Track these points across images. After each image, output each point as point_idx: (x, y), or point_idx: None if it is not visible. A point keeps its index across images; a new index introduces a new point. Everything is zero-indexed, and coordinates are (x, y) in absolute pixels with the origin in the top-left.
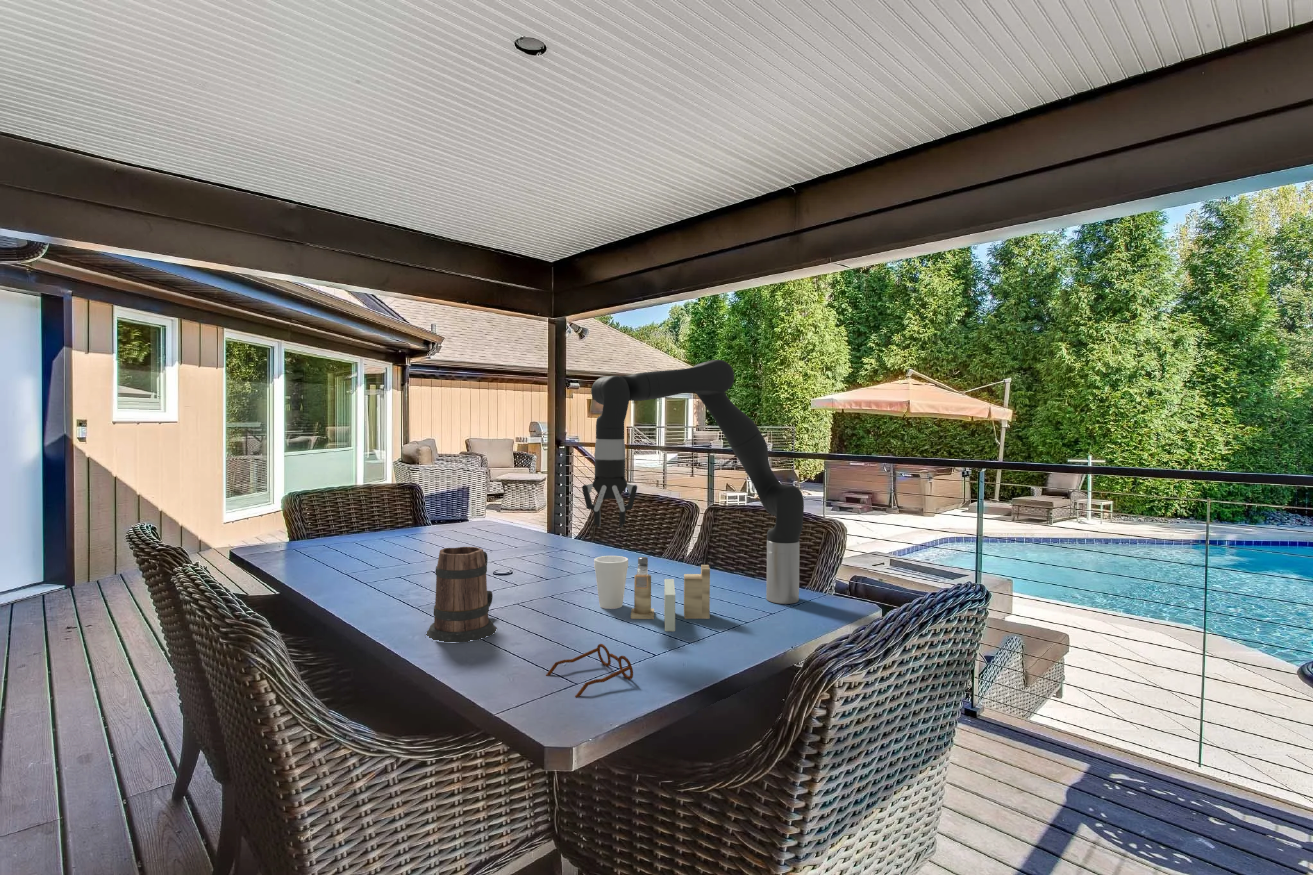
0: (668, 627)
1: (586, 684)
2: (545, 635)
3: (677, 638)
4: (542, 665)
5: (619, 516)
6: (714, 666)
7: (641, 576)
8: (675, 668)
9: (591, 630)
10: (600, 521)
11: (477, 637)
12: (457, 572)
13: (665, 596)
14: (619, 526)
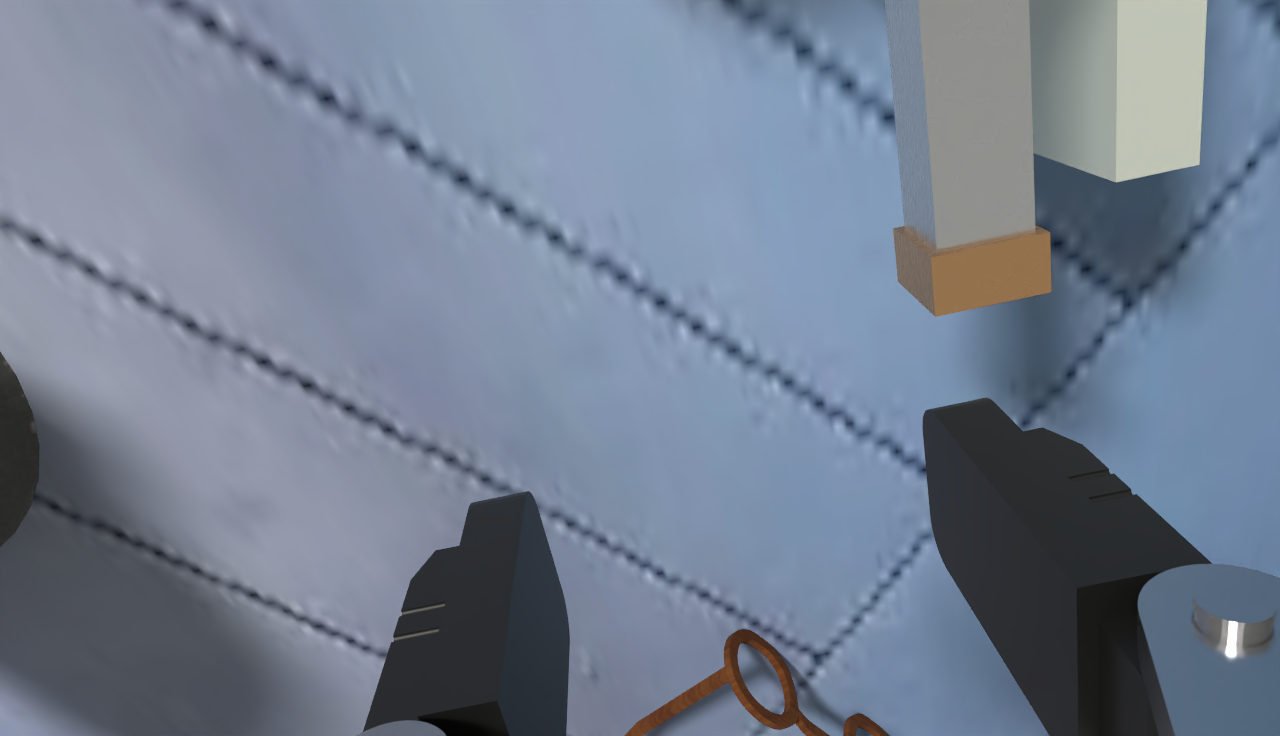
0: None
1: None
2: (323, 368)
3: (1066, 245)
4: None
5: (1029, 699)
6: (1217, 555)
7: (991, 302)
8: None
9: (544, 225)
10: (523, 531)
11: (8, 513)
12: None
13: (1111, 177)
14: (940, 547)
